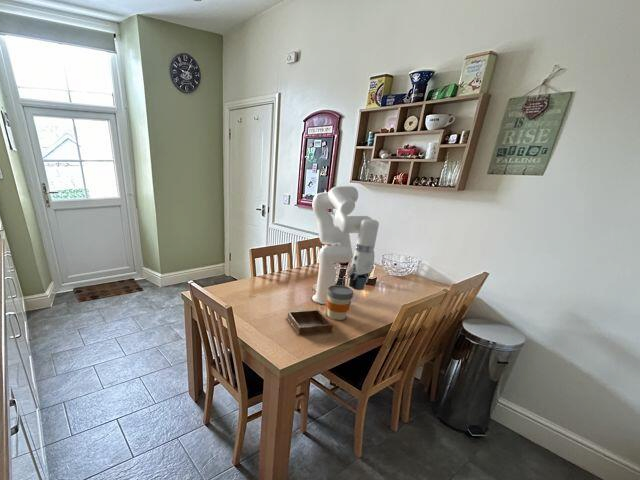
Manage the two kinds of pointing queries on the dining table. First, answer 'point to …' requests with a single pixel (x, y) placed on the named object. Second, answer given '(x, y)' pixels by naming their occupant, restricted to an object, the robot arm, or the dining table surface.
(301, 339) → the dining table surface
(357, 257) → the robot arm
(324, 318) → the dark wooden tray
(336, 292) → the reusable coffee cup
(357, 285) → the dark blue cup
